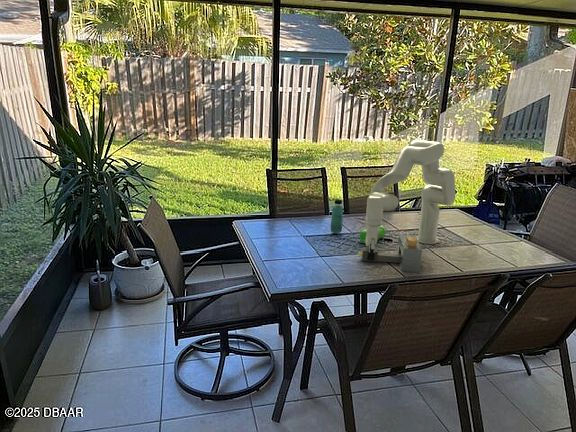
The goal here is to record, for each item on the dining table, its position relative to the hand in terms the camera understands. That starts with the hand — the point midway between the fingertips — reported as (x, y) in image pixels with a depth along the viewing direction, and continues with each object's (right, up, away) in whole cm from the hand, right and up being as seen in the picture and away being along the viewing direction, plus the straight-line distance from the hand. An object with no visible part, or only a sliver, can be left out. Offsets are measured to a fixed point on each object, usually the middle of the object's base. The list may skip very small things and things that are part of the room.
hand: (370, 257), depth 202 cm
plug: (+6, -1, 0) cm, 6 cm away
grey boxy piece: (+17, -3, -2) cm, 17 cm away
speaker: (+7, +6, +30) cm, 31 cm away
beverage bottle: (-12, +10, +38) cm, 41 cm away
